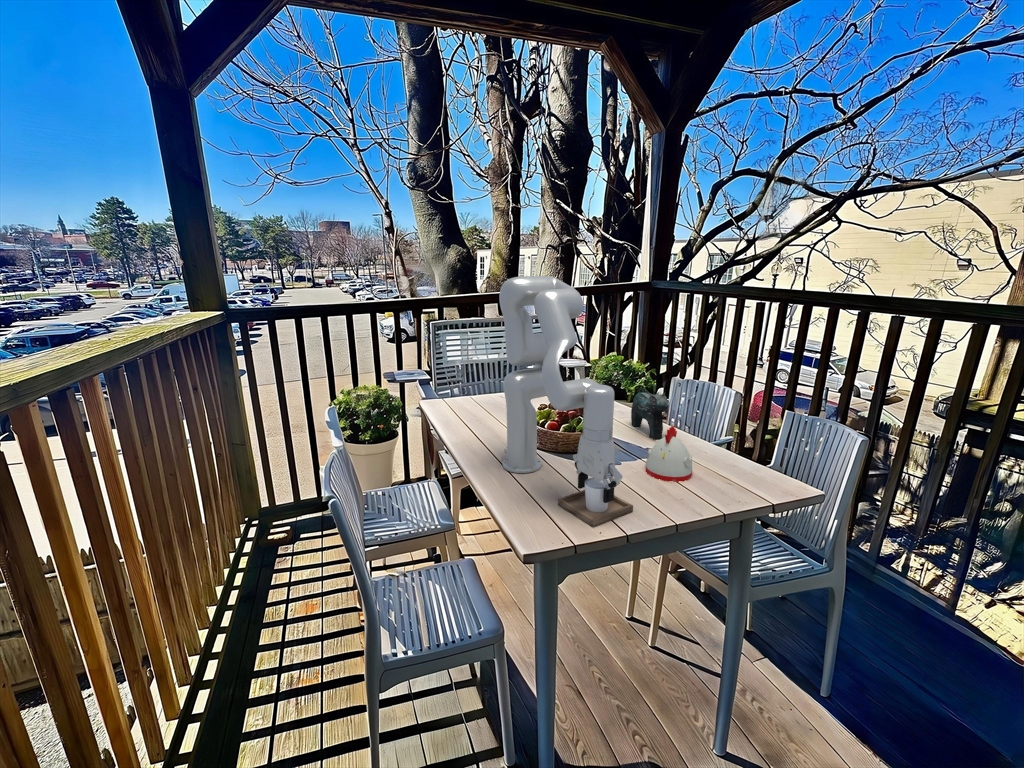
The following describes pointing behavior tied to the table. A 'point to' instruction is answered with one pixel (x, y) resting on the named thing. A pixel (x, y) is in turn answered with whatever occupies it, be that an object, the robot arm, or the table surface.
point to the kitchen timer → (669, 459)
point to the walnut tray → (578, 508)
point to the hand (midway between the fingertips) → (595, 494)
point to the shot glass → (595, 495)
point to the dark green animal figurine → (649, 412)
